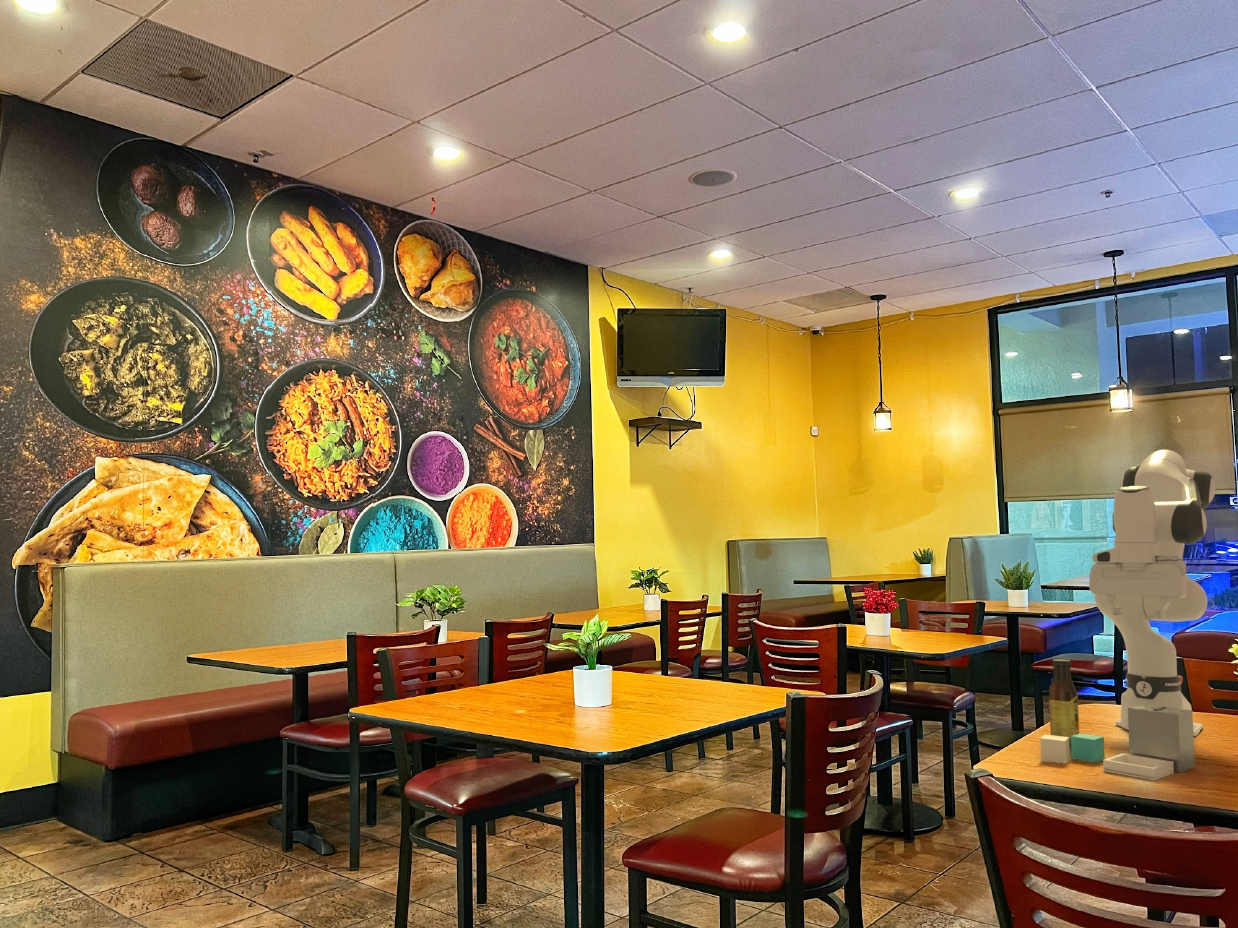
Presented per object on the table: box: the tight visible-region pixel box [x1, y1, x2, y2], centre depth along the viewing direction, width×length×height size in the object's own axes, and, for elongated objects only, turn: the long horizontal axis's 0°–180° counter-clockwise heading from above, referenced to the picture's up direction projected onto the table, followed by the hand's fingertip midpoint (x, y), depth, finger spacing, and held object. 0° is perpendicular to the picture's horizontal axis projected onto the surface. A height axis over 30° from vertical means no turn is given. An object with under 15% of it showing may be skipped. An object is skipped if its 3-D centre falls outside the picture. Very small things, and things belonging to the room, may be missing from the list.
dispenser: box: [1128, 704, 1196, 774], centre depth 203 cm, size 8×10×12 cm
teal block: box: [1070, 732, 1106, 764], centre depth 208 cm, size 5×5×5 cm
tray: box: [1102, 752, 1175, 781], centre depth 197 cm, size 10×10×2 cm
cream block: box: [1040, 734, 1071, 765], centre depth 207 cm, size 5×5×5 cm
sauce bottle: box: [1048, 658, 1080, 748], centre depth 224 cm, size 7×6×20 cm
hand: (1138, 616), depth 215 cm, fingers open, 8 cm apart
